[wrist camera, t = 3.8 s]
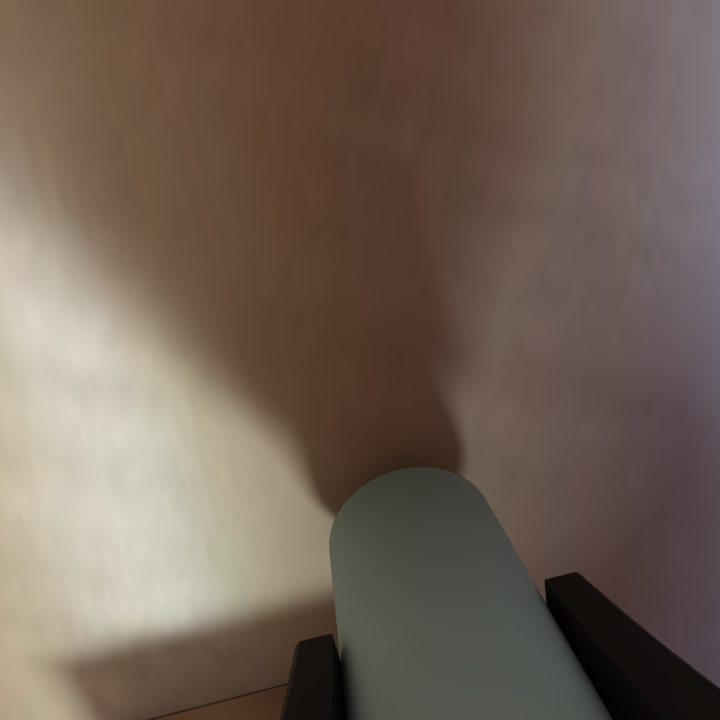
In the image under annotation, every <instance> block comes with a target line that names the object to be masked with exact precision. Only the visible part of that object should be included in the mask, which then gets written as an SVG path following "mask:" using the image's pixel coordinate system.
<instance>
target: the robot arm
mask: <svg viewBox="0 0 720 720" xmlns="http://www.w3.org/2000/svg"><path fill="white" fill-rule="evenodd" d="M545 590H546V602H547V606H548V608H549V610H550V611H551V613H552V615H553V616H554V618H555V620H556V622H557V623H558V625H559V627H560V629H561V630H562V632H563V634H564V636H565V637H566V639H567V641H568V642H569V644H570V646H571V648H572V649H573V651H574V653H575V655H576V656H577V658H578V660H579V661H580V663H581V665H582V667H583V668H584V670H585V672H586V674H587V675H588V677H589V679H590V680H591V682H592V684H593V686H594V687H595V689H596V691H597V693H598V694H599V696H600V698H601V699H602V701H603V703H604V705H605V706H606V708H607V710H608V712H609V713H610V715H611V717H612V718H613V720H720V688H719V687H718V686H716V685H715V684H714V683H712V682H711V681H710V680H708V679H707V678H706V677H704V676H703V675H702V674H700V673H699V672H698V671H696V670H695V669H694V668H693V667H691V666H690V665H689V664H688V663H686V662H685V661H684V660H682V659H681V658H680V657H679V656H677V655H676V654H675V653H673V652H672V651H671V650H670V649H668V648H667V647H666V646H664V645H663V644H662V643H661V642H659V641H658V640H657V639H656V638H655V637H653V636H652V635H651V634H650V633H648V632H647V631H646V630H645V629H644V628H642V627H641V626H640V625H639V624H638V623H636V622H635V621H634V620H633V619H632V618H630V617H629V616H628V615H627V614H626V613H624V612H623V611H622V610H621V609H620V608H618V607H617V606H616V605H615V604H614V603H613V602H611V601H610V600H609V599H608V598H607V597H606V596H605V595H603V594H602V593H601V592H600V591H599V590H598V589H596V588H595V587H594V586H593V585H592V584H591V583H590V582H589V581H587V580H586V579H585V578H584V577H583V576H582V575H580V574H579V573H577V572H573V573H569V574H566V575H562V576H558V577H554V578H550V579H546V580H545ZM280 720H346V713H345V703H344V693H343V683H342V672H341V662H340V659H339V655H338V652H337V648H336V645H335V642H334V638H333V635H332V634H328V635H324V636H320V637H316V638H312V639H308V640H304V641H300V642H299V643H298V645H297V646H296V647H295V652H294V658H293V663H292V668H291V673H290V678H289V683H288V687H287V692H286V696H285V700H284V704H283V708H282V712H281V716H280Z"/></svg>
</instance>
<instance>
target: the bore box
mask: <svg viewBox="0 0 720 720" xmlns="http://www.w3.org/2000/svg"><path fill="white" fill-rule="evenodd" d="M287 687H288V685H285V686H281V687H277V688H273V689H270V690H266V691H262V692H258V693H254V694H250V695H246V696H242V697H239V698H235V699H231V700H227V701H223V702H219V703H215V704H211V705H208V706H204V707H200V708H196V709H192V710H188V711H184V712H180V713H177V714H173V715H169V716H165V717H161V718H157V719H153V720H280V716H281V712H282V708H283V704H284V700H285V696H286V692H287Z"/></svg>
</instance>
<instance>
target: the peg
mask: <svg viewBox="0 0 720 720" xmlns="http://www.w3.org/2000/svg"><path fill="white" fill-rule="evenodd" d="M329 550H330V561H331V571H332V581H333V591H334V601H335V612H336V622H337V632H338V642H339V652H340V662H341V672H342V683H343V693H344V703H345V713H346V720H613V718H612V717H611V715H610V713H609V712H608V710H607V708H606V706H605V705H604V703H603V701H602V699H601V698H600V696H599V694H598V693H597V691H596V689H595V687H594V686H593V684H592V682H591V680H590V679H589V677H588V675H587V674H586V672H585V670H584V668H583V667H582V665H581V663H580V661H579V660H578V658H577V656H576V655H575V653H574V651H573V649H572V648H571V646H570V644H569V642H568V641H567V639H566V637H565V636H564V634H563V632H562V630H561V629H560V627H559V625H558V623H557V622H556V620H555V618H554V616H553V615H552V613H551V611H550V610H549V608H548V606H547V604H546V603H545V601H544V599H543V597H542V596H541V594H540V592H539V591H538V589H537V587H536V585H535V584H534V582H533V580H532V578H531V577H530V575H529V573H528V572H527V570H526V568H525V566H524V565H523V563H522V561H521V559H520V558H519V556H518V554H517V553H516V551H515V549H514V547H513V546H512V544H511V542H510V540H509V539H508V537H507V535H506V534H505V532H504V530H503V528H502V527H501V525H500V523H499V521H498V520H497V518H496V516H495V515H494V513H493V511H492V509H491V508H490V506H489V504H488V502H487V501H486V499H485V497H484V496H483V494H482V493H481V492H480V491H479V489H478V488H477V487H476V486H475V485H473V484H472V483H471V482H470V481H468V480H467V479H465V478H464V477H462V476H460V475H458V474H456V473H453V472H451V471H447V470H444V469H439V468H433V467H410V468H405V469H399V470H396V471H392V472H389V473H386V474H384V475H381V476H379V477H377V478H375V479H373V480H371V481H370V482H368V483H366V484H365V485H364V486H362V487H361V488H359V489H358V490H357V491H356V492H355V493H354V494H353V495H352V496H350V497H349V499H348V500H347V501H346V502H345V503H344V505H343V506H342V507H341V509H340V511H339V512H338V514H337V516H336V518H335V520H334V522H333V525H332V529H331V532H330V540H329Z"/></svg>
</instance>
